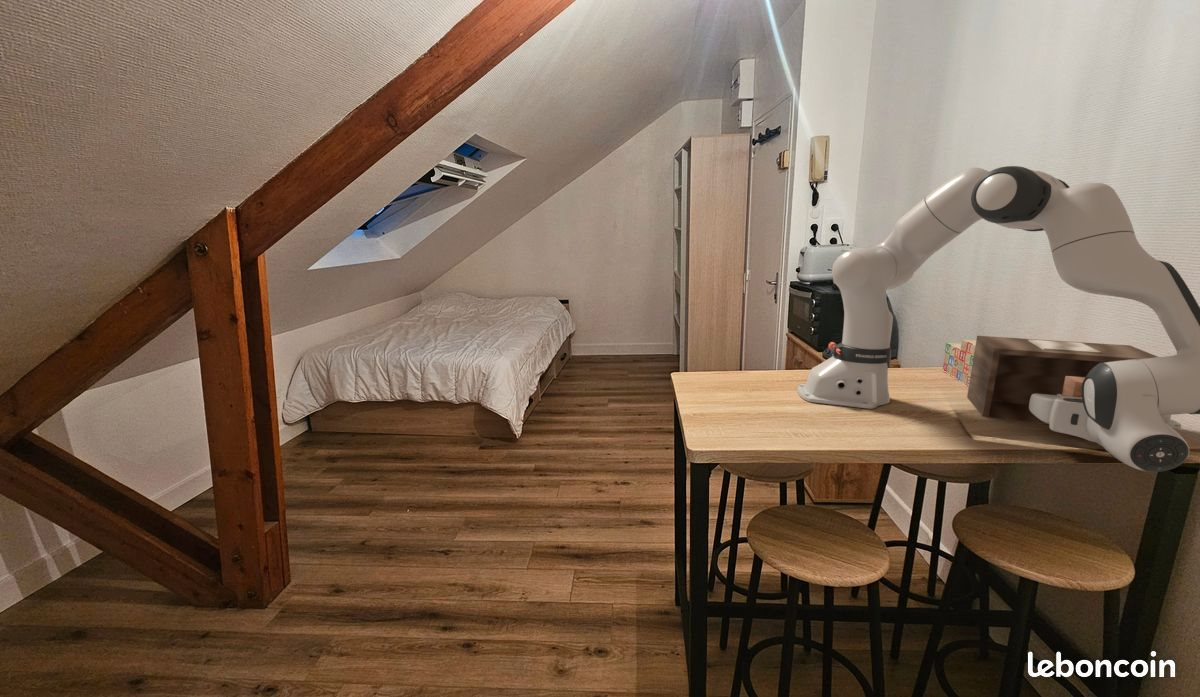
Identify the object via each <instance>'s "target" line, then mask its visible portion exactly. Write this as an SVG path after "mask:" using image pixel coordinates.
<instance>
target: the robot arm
mask: <svg viewBox="0 0 1200 697" xmlns="http://www.w3.org/2000/svg"><path fill="white" fill-rule="evenodd" d="M981 220H985V221H987V222H988V223H993V224H996V225H999V226H1000V227H1004V228H1007V229H1012V230H1014V229H1015V230H1016V229H1017V230H1023V231H1026V232H1043V231H1044V232H1045V234H1046V236H1047V239H1048V242H1049V246H1050V251H1051V255H1052V259H1053V262H1054V266H1055V268H1056V271H1057V274H1058V275H1059V277H1060V279H1061V280H1062V281H1063V282H1065V284H1067V285H1068V286H1070V287H1072V288H1074V289H1075V290H1079V291H1082V292H1085V293H1088V294H1093V295H1100V296H1108V297H1116V298H1122V299H1127V300H1133V301H1136V302H1139V303H1142V304H1144V305H1146V306H1147V307H1149V308H1150V309H1152V310H1153V312H1154V313H1155V314H1156V316H1157V317H1158V319H1159V322H1160V323H1161V325H1162V326H1163V328H1164V330H1165V332H1166V334H1167V336H1168V338H1169V339H1170V341H1171V343H1172V345H1173V347H1174V349H1175V350H1176V354H1174V355H1166V356H1158V357H1156V358H1146V359H1131V360H1122V361H1113V362H1106V363H1099V364H1098V365H1096V366H1095V367H1094V368H1093V369H1092V370H1091V371H1090V372H1089V373H1088V375H1087V376H1086V377H1085V379H1084V381H1083V383H1082V398H1080V397H1069V396H1067V395H1063V394H1057V395H1047V394H1037V393H1035V394H1032V395H1031V398H1030V402H1029V410H1030V412H1031V413H1032V414H1034V415H1035V416H1036V417H1037V418H1038V419H1040V420H1041V421H1043V422H1045V423H1048V424H1047V425H1049V429H1050V430H1051V431H1052V432H1055V433H1061V434H1064V435H1069V436H1072V437H1073V436H1074V437H1078V438H1081V439H1083V440H1087V441H1089V442H1093V443H1097V444H1098V445H1099V446H1101V447H1103V448H1104V450H1105V451H1106V452H1108V453H1109V454H1110V455H1112V456H1113V457H1114V458H1115V459H1117V460H1118V461H1120V462H1122V463H1123V464H1125V465H1127V466H1129V467H1131V468H1133V469H1136V470H1138V471H1142V472H1148V473H1160V472H1167V471H1171V470H1173V469H1176V468H1179V466H1181V465H1182V464H1183V463H1184V462H1185V461H1186V460H1188V458H1189V455H1190V446H1189V444H1188V442H1187V441H1186V440H1185V439H1184V437H1183V436H1182V435H1181V434H1179V432H1178V431H1177V430H1175V429H1178V430H1179V429H1181V428H1182V424H1181V423H1179V422H1178V421H1176V420H1174V419H1172V415H1175V416H1176V415H1184V414H1185V415H1186V414H1189V415H1200V306H1199V304H1198V301H1197V300H1196V298H1195V296H1194V295H1193V293H1192V291H1191V290H1190V288H1189V286H1188V285H1187V283H1186V281H1185V280H1184V279H1183V278H1182V276H1181V274H1180V273H1179V272H1178V270H1177V269H1176V268H1175V267H1174V265H1172V264H1171V263H1169V262H1167V261H1163V260H1159V259H1157V258H1155V257H1154V256H1152V255H1151V254H1150V253H1148V252H1147V251H1146V250H1145V249H1144V248H1143V247H1142V246H1141V244H1140V243H1139V241H1138V239H1137V237H1136V236H1137V235H1136V234H1135V230H1134V227H1133V224H1132V220H1131V219H1130V215H1129V214H1128V212H1127V210H1126V208H1125V205H1124V204H1123V202H1122V201H1121V198H1120V197H1119V195H1118V193H1117V192H1116V190H1115V189H1114V188H1113V187H1111V186H1110V185H1108V184H1105V183H1102V182H1085V183H1080V184H1076V185H1072V186H1069V184H1068V183H1066V182H1065V181H1063V180H1062V179H1059V178H1057V177H1054V176H1053V175H1052V174H1049V173H1046V172H1044V171H1040V170H1033V169H1029V168H1027V167H1023V166H1018V165H1013V166H1012V165H1011V166H1009V165H1008V166H1001V167H997V168H994V169H992V170H991V171H989V170H988V169H984V168H980V167H969V168H966V169H964V170H962V171H961V172H959V173H957V174H956V175H954V176H952V177H951V178H949V179H947V180H946V181H945V182H943V183H941V185H938V186H937V187H936V188H935V189H934V190H932V191H931V192H929V193H928V194H927V195H926V196H925V197H924V198H923V199H921V200H920V201H919V202H917V203H916V204H915V205H914V206H913V207H912V208H910V209H909V210H908V211H906V213H905V214H904V215H902V216H900V218H898V219H897V221H896V222H895V223H894V228H893V230H892V231H891V232H890V233H889V235H888V236H887V237H886V238H885V239H884V240H883V241H882V242H881V243H879V244H877V245H874V246H871V247H870V246H869V247H868V246H867V247H857V248H853V249H851V250H848V251H846V252H843V253H842V254H840V255H838V257H837V258H836V259H835V261H834V262H833V265H832V268H831V276H832V280H833V282H834V284H835V285H836V286H837V287H838V290H839V291H840V295H841V300H842V304H843V311H844V313H843V314H844V315H843V327H842V328H843V329H842V339H841V342H839V343H838V344H837V343H836V342H833V341H830V342H829V343H828V346H827V347H828V348H829V349H830V351H832V356H831V357H829V358H828V359H825V360H824V361H822V362H821V363H819V364H818V365H815V366H813V367H812V368H811V369H810V370H809V373H808V376H807V378H806V383H800V384H799V385H798V386H797V389H796V391H797V392H796V393H797V394H798V396H799V397H800V398H801V399H803V400H805V401H807V402H810V403H814V404H815V403H816V404H827V405H835V406H841V407H842V406H843V407H853V408H862V409H871V410H872V409H873V410H874V409H876V408H878V406H883V405H887V404H889V403H890V402H891V397H890V393H889V381H888V380H889V378H888V372H889V368H890V363H891V359H892V346H891V338H892V332H893V324H894V315H893V314H892V311H890V309H889V305H888V301H887V291H889V290H894V289H897V288H898V287H900V286H902V285H903V284H906V283H907V282H909V281H910V280H911V279H912V277H913V275H914V273H915V272H916V271H918V270H919V269H920V267H922V265H923V264H924V263H925V262H927V260H928V259H929V258H931V256H933V255H934V254H935V253H936V252H938V251H939V250H940V249H943V247H944V246H946V245H948V244H949V243H950V242H952V241H953V240H954V239H955V238H957V237H958V236H959V235H960V234H962V233H963V232H965V231H966V230H967V229H969V228H970V227H971V226H973V225H974V224H975V223H978V222H979V221H981Z"/></svg>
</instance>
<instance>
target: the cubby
mask: <svg viewBox="0 0 1200 697" xmlns="http://www.w3.org/2000/svg"><path fill="white" fill-rule="evenodd" d="M975 340H976V345H975V351H974V358H973V364H972V370H971V376H970V382H969V386H968V387H967V388H968V389H967V390H968V391H967V395H966V398H967V399H968V401H969V402H970V403H971V405H973V407H974V408H975V409H976V410H977V411H978V413H979V414H980V415H981V417H983V418H984V417H985V418H990V419H991V418H992V419H993V418H994V419H999V420H1000V419H1002V420H1008V421H1009V420H1010V421H1019V422H1027V423H1036V424H1037V423H1038V424H1045V425H1049V424H1048V423H1045V422H1043V421H1041V420H1040V419H1038V418H1037V417H1036V416H1035V415H1034V414H1032V413H1031V412H1030V410H1029V402H1030V398H1031V395H1032V394H1035V393H1037V394H1047V395H1057V394H1062V391H1063V386H1064V381H1065V376H1074V377H1086V376H1087V375H1088V373H1089V372H1090V371H1091V370H1092V369H1093V368H1094V367H1095V366H1096V365H1098V364H1099V363H1106V362H1113V361H1122V360H1131V359H1146V358H1156V357H1159V356H1157V355H1154V354H1152V353H1150V352H1147V351H1146V350H1143V349H1140V348H1137V347H1134V346H1133V345H1130V344H1129V345H1126V344H1112V343H1110V344H1109V343H1099V342H1098V343H1097V342H1095V343H1094V342H1083V341H1082V342H1081V341H1080V342H1079V341H1069V340H1068V341H1067V340H1049V339H1036V338H1035V339H1033V338H1023V337H1022V338H1019V337H1017V338H1016V337H1006V336H988V335H977V336H976V339H975Z"/></svg>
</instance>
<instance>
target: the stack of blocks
mask: <svg viewBox="0 0 1200 697" xmlns="http://www.w3.org/2000/svg"><path fill="white" fill-rule="evenodd" d="M975 345H976V339H962V340H961V342H946V343H945V349H944V352H945V353H944V358H943V359H944V360H943V365H942V366H943V367H942V370H943V369H944V371H946V372H947V373H948V374H950V375H952V376H954V377H955V378H957V379H958V380H960V381H961V382H963V383H964V384H965V385H964V384H963V383H962V384H963V385H964V386H966V385H967V386H966V387H969V382H970V376H971V370H972V364H973V358H974V351H975ZM947 373H946V374H947ZM948 374H947V375H948ZM958 380H957V381H958ZM961 382H960V383H961Z"/></svg>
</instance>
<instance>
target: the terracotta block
mask: <svg viewBox="0 0 1200 697" xmlns="http://www.w3.org/2000/svg"><path fill="white" fill-rule="evenodd" d="M1084 379H1085V377H1074V376H1065V381H1064V386H1063V391H1062V394H1063V395H1067V396H1069V397H1080V398H1082V383H1083V381H1084Z"/></svg>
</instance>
